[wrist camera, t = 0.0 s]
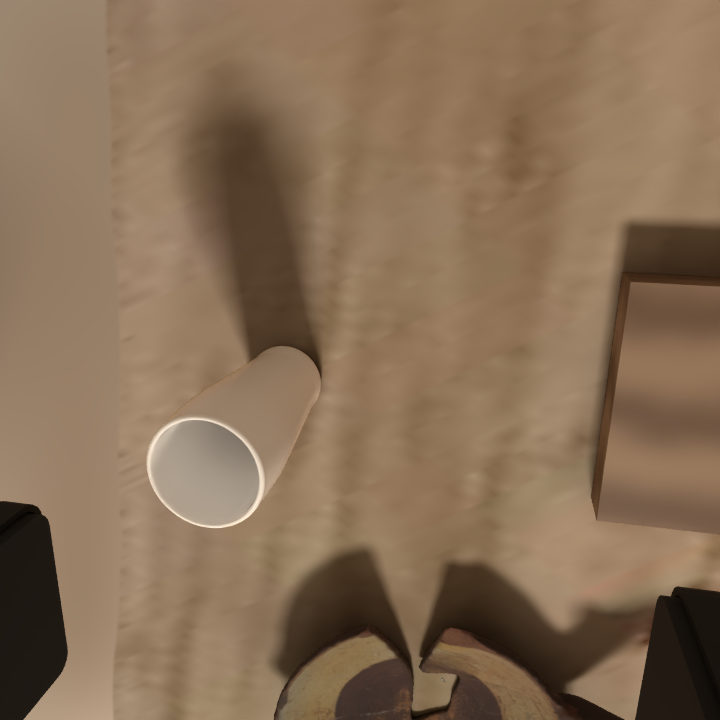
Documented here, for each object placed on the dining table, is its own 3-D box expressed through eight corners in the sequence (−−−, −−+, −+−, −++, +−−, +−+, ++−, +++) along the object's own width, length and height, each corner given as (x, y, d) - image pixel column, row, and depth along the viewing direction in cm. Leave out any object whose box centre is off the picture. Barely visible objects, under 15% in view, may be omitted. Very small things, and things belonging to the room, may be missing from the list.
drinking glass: (225, 365, 51) (119, 454, 37) (294, 315, 48) (209, 389, 34) (281, 437, 52) (198, 550, 38) (351, 391, 49) (291, 493, 35)
